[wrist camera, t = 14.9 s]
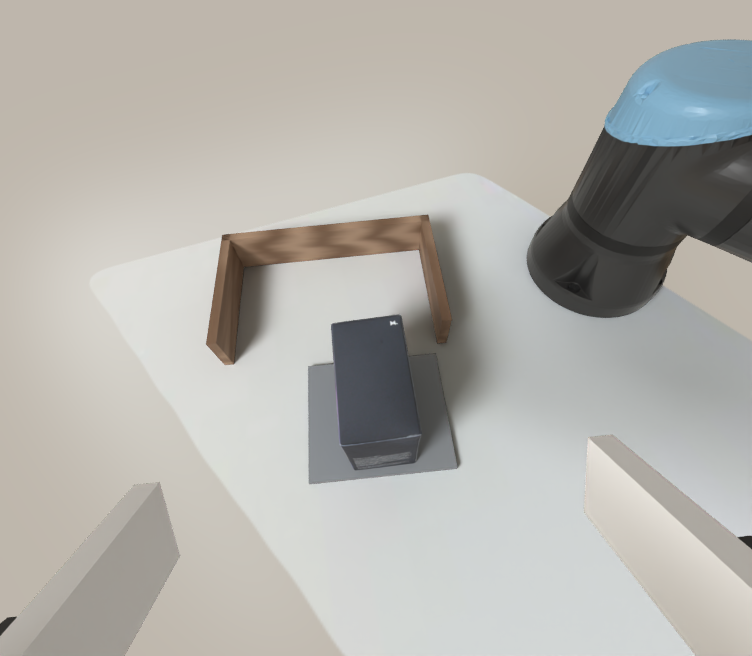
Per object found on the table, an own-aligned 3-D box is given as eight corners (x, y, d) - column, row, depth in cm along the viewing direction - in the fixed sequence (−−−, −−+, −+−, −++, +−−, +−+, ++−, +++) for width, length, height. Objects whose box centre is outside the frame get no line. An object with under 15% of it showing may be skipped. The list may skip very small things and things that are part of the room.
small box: (341, 370, 41) (327, 319, 32) (401, 362, 42) (403, 310, 32) (350, 472, 36) (335, 446, 27) (418, 463, 36) (426, 434, 27)
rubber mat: (435, 355, 42) (435, 353, 42) (456, 468, 36) (457, 467, 36) (309, 368, 42) (308, 366, 42) (310, 484, 36) (308, 483, 36)
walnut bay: (425, 243, 51) (428, 214, 46) (446, 342, 43) (451, 319, 39) (236, 261, 51) (222, 234, 46) (224, 364, 43) (206, 344, 39)
